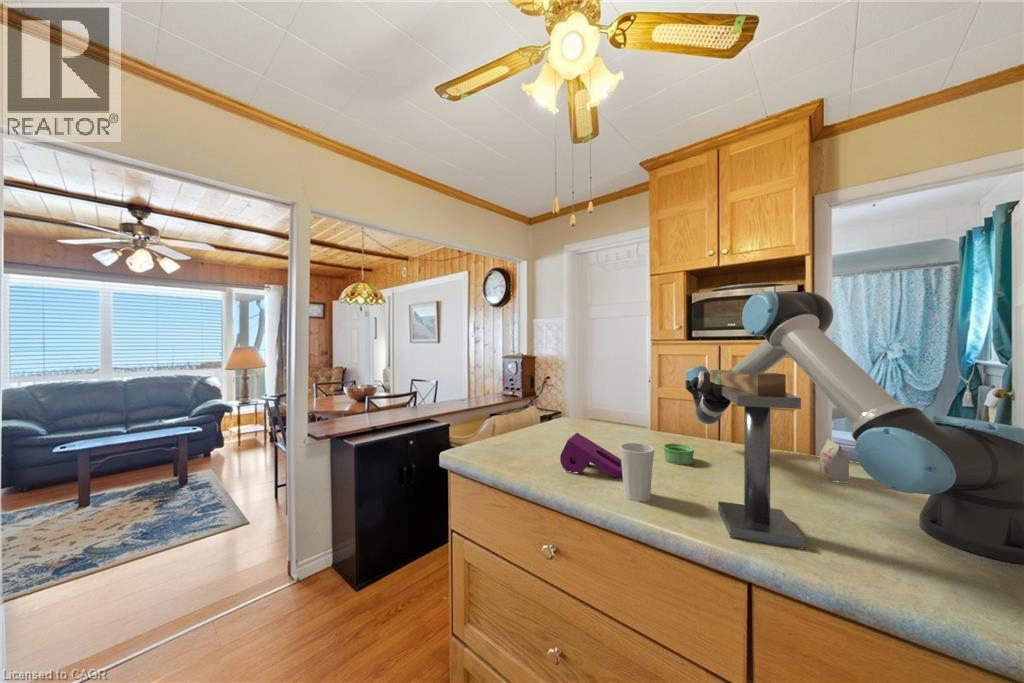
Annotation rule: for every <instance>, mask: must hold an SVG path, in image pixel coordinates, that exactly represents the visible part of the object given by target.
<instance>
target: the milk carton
mask: <svg viewBox="0 0 1024 683" xmlns="http://www.w3.org/2000/svg"><path fill="white" fill-rule="evenodd" d="M820 473H821V474H820ZM819 474H820V475H822V476H823V475H824V476H823V477H824V478H826V477H827V478H828V479H827V478H826V479H827V480H829V479H830V480H831V481H830V480H829V481H830V482H832V481H839V482H849V483H850V461H849V459H848V457H847V456H846V454H845V452H844V450H843V447H842V445H841V444H840V443H839V444H838V443H836V442H835V441H833V440H831V439H829V438H826V439H825V443H824V445H823V446H822V448H821V450H820V452H819ZM839 482H838V483H839Z"/></svg>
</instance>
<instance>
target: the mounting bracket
mask: <svg viewBox="0 0 1024 683" xmlns="http://www.w3.org/2000/svg"><path fill="white" fill-rule="evenodd" d="M559 460H560V464H561V466H562V468H563V469H564V470H565V471H566V472H567V471H571V472H578V473H579V474H581V473H582V472H584V470H585V469H587V467H588V465H589V464H592V465H594V466H596V467H597V468H599V469H600V470H602V471H604V472H605V473H607V474H609V475H610V476H612V477H616V478H620V479H622V478H621V477H623V475H622V463H621V458H619V457H618V456H617V455H615V454H613V453H611V452H610V451H608V450H606V449H605V448H604V447H602V446H600V445H599V444H598V443H595V442H594V441H592V440H590V439H588V438H587V437H585V436H583V435H582V434H581V433H579V432H576V433H575V434H573V435H572V436H571V437H570V438H569V439H568V440H567V441H566V443H565V445H564V446H563V448H562V450H561V454H560V457H559Z"/></svg>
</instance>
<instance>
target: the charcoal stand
mask: <svg viewBox="0 0 1024 683" xmlns="http://www.w3.org/2000/svg"><path fill="white" fill-rule="evenodd" d="M722 395H723V396H724V397H726V398H727V399H729V400H730V401H731V403H733V404H734V405H736V406H738V407H743V408H744V413H743V414H744V415H743V416H744V421H743V422H744V423H743V424H744V425H743V426H744V428H743V429H744V431H743V433H744V438H743V439H744V443H743V444H744V445H743V446H744V449H743V450H744V455H743V456H744V458H743V459H744V461H743V464H744V467H743V468H744V469H743V471H744V473H743V474H744V476H743V477H744V478H743V480H744V482H743V483H744V484H743V485H744V486H743V487H744V489H743V491H744V492H743V493H744V494H743V495H744V497H743V498H744V499H743V500H744V501H743V502H744V504H741V503H736V502H735V503H734V502H733V503H732V502H727V501H720V500H718V501H717V511H718V513H719V515H720V518H721V517H722V518H721V520H722V523H723V524H724V526H726V527H725V528H726V532H727V533H729V534H728V536H729V535H730V536H729V538H730V537H732V539H736V538H738V539H737V540H742V539H744V540H743V541H750V542H756V543H762V544H767V543H768V544H769V545H775V546H780V545H781V546H782V547H786V546H788V547H787V548H793V547H795V548H794V549H799V548H803V549H802V550H806V538H805V537H804V535H803V534H802V533H801V532H800V530H799V529H798V528H797V527H796V525H795V524H794V523H793V522H792V520H790V518H789V517H788V516H787V514H786V513H785V512H784V511H783V510H782V509H780V508H779V509H778V508H771V408H773V409H774V408H775V409H790V410H791V409H793V410H795V409H796V410H802V407H801V406H802V398H801V397H799V396H797V395H794V394H792V393H788V392H786V396H778V395H755V394H751V393H749V392H748V391H744V390H740V389H737V388H733V387H729V386H722Z"/></svg>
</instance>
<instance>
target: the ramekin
mask: <svg viewBox="0 0 1024 683" xmlns="http://www.w3.org/2000/svg"><path fill="white" fill-rule="evenodd" d="M663 450H664V460H665V461H666V462H668V463H670V462H671V464H673V463H674V465H679V464H680V465H681V466H686V465H688V464H689V465H691V464H692V463H693V460H694V454H695V448H694V447H692V446H691V445H688V444H682V443H674V442H673V443H672V442H671V443H665V444H663Z"/></svg>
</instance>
